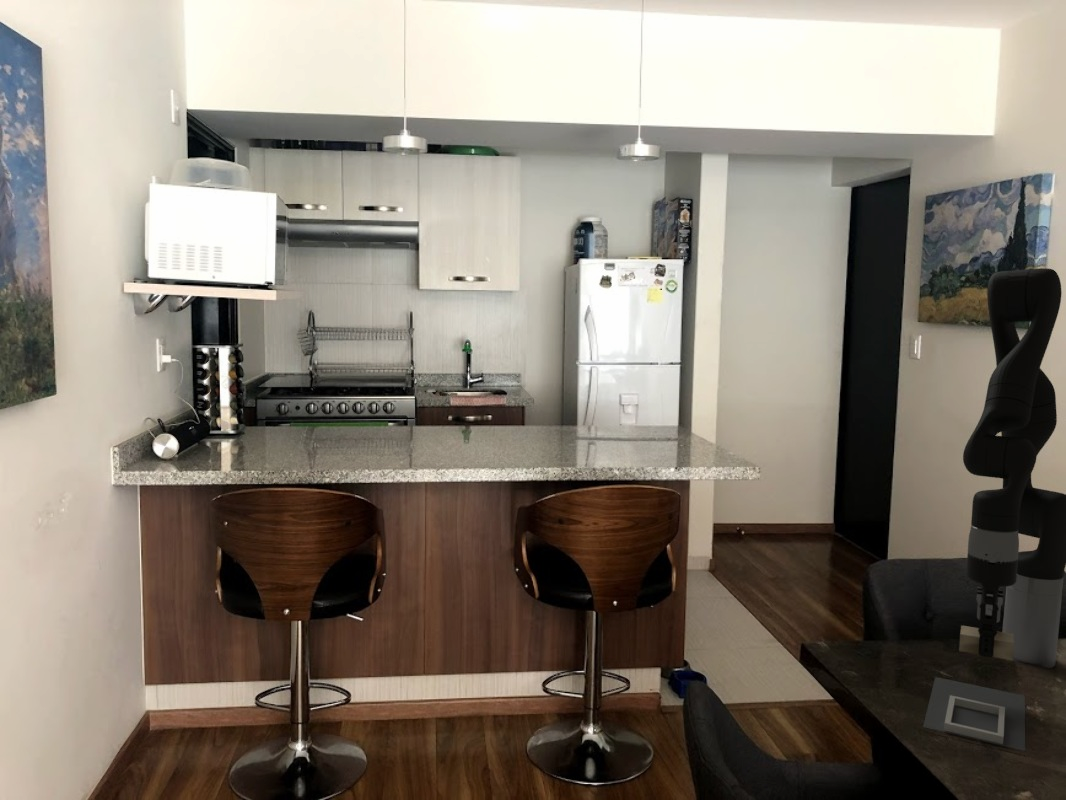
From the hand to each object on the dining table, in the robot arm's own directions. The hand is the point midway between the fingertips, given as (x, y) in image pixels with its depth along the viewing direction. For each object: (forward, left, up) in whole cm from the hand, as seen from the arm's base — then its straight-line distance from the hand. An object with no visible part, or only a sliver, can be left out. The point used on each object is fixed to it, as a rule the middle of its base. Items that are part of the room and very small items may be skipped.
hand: (985, 650), depth 148 cm
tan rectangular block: (0, 0, 0) cm, 0 cm away
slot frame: (+12, +4, -9) cm, 15 cm away
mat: (+7, +2, -9) cm, 12 cm away
